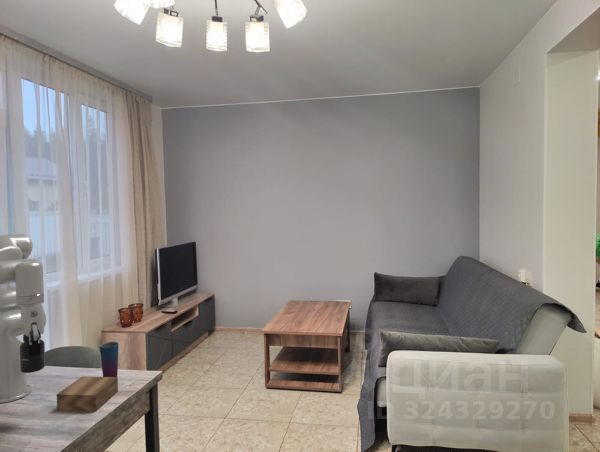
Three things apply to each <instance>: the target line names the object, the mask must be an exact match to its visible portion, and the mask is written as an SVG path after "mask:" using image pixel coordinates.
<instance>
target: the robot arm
mask: <svg viewBox="0 0 600 452" xmlns="http://www.w3.org/2000/svg"><path fill="white" fill-rule="evenodd" d="M33 247H34V245H33V241H32V239H31V238H30V236H29V235H27V234H24V233H23V234H22V233H19V234H17V233H16V234H15V233H14V234H2V235H1V234H0V404H3V403H8V402H9V403H10V402H13V401H17V400H20V399H22V398H24V397H27V396H28V395H30V393H31V392H32V391H33V389H32V388H33V387H32V385H30V384H28V383H27V373H23V372H21V371H20V345H21V344H22V343H23V341H21V340H20V339H18V338H17V337H18V336H21V335H22V336H23V335H24V334H25V335H26V336H28V338H29V345H28V356H29V357H33V356H37V355H40V354H41V350H40V339H39V332H40V333H41V335H43V334H44V332H45V327H46V324H47V316H46V313H45V309H44V307H43V304H44V303H45V290H44V289H45V288H44V267H43V263H42V262H41V261H39V260H37V259H35V258H29V256H31V253H32V252H33V249H34V248H33ZM12 283H13V284H14V283H15V286H11V284H12ZM30 333H33V334H32V335H30ZM31 337H33V338H32V339H31Z"/></svg>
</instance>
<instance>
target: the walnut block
mask: <svg viewBox="0 0 600 452" xmlns="http://www.w3.org/2000/svg"><path fill="white" fill-rule="evenodd" d="M118 377H119V376H117V377H103V376H81V377H80V378H78V379H76V380H75V381H74V382H72V383H71V384H69V385H68V386H66V387H65V388H64V389H62V390H61V391H59V392H58V393H57V394H56V410H57V411H63V412H65V411H66V412H68V411H69V412H70V411H71V412H73V411H74V412H97V411H99V410H100V409H101V408H102V407H103V406H104V405H105V404H106V403H108V402H109V401H110V400H111V399H112V398H113V397H114V396H115V395H116V394H118V393H119V383H118V381H119V380H118Z"/></svg>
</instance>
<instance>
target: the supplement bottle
mask: <svg viewBox="0 0 600 452" xmlns="http://www.w3.org/2000/svg"><path fill="white" fill-rule="evenodd" d="M32 334H33V333H30V335H32ZM32 338H33V337H31V339H32ZM39 339H40V350H41V354H40V355H37V356H33V357H29V356H28V345H29V338H28V336H26V335H25V334H22V344H21V345H20V371H21V372H23V373H26V374H30V373H32V374H33V373H37V372H38V371H42V370H43V369H45V366H46V358H45V357H46V349H45V348H46V346H45V341H44V340H42V334H41V333H40V332H39Z"/></svg>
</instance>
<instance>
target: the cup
mask: <svg viewBox="0 0 600 452" xmlns="http://www.w3.org/2000/svg"><path fill="white" fill-rule="evenodd" d="M99 350H100V361H101V370H102V371H101V372H102V377H118V373H119V372H118V369H119V368H118V367H119V342H118V341H107V342H103V343H101V344H100V345H99Z"/></svg>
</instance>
